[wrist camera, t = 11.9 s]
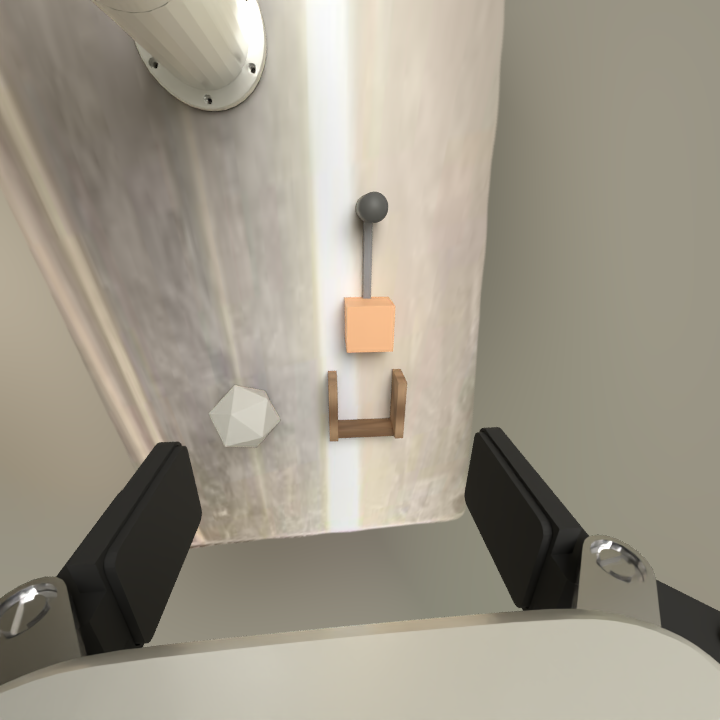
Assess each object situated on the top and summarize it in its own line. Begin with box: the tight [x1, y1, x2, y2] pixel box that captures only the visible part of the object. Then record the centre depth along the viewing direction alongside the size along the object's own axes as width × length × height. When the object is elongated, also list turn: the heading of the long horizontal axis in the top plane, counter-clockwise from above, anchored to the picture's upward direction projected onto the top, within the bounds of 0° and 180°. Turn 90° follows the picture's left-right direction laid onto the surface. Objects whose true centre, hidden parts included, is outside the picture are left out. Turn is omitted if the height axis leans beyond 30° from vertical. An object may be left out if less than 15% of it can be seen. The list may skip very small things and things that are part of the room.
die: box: [209, 385, 280, 447], centre depth 47 cm, size 8×9×10 cm
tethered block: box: [344, 192, 395, 353], centre depth 42 cm, size 18×6×6 cm, turn 0°
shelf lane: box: [328, 369, 407, 441], centre depth 50 cm, size 10×11×4 cm
